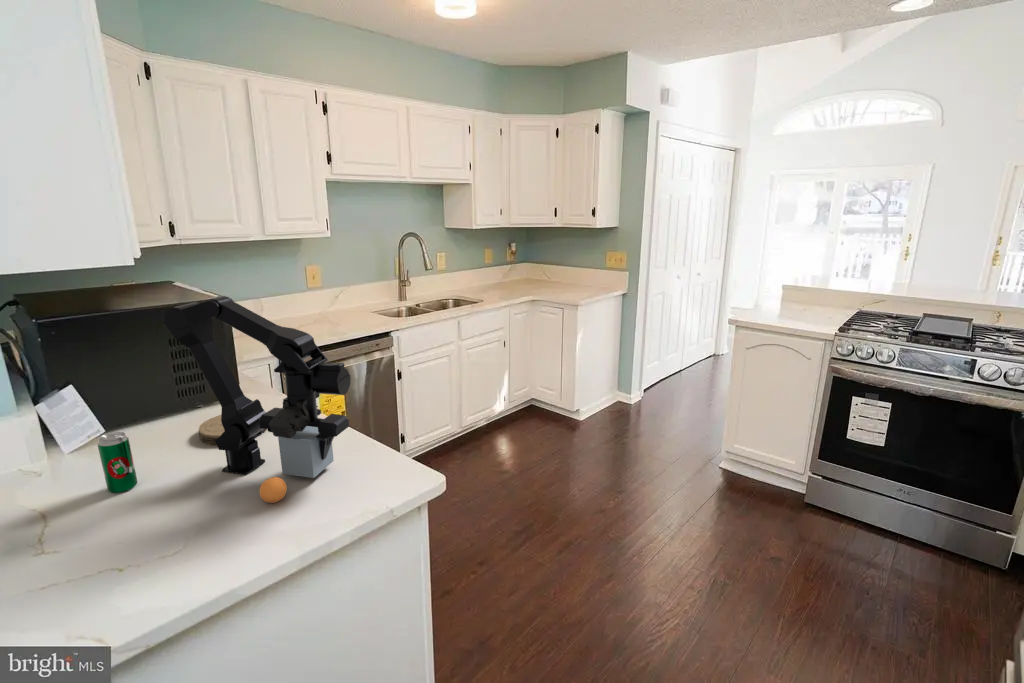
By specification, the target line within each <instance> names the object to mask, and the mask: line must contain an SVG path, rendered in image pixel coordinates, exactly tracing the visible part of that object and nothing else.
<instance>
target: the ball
mask: <svg viewBox="0 0 1024 683" xmlns="http://www.w3.org/2000/svg"><path fill="white" fill-rule="evenodd" d="M287 490H288V485H287V483H286V481H284V479H282V478H280V477H276V476H273V477H270V478H269V477H268V478H267V479H266V480H264V481H263V482H262V483H261V485H260V487H259V496H260V498H261V499H262V500H263V501H264V502H266V503H268V504H269V503H270V504H272V503H273V504H274V503H277V502H280V501H281V500H282V499H284V497H285V496H286V493H287Z"/></svg>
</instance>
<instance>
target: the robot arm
mask: <svg viewBox="0 0 1024 683" xmlns="http://www.w3.org/2000/svg"><path fill="white" fill-rule="evenodd" d="M213 319H216V320H219V321H220V322H222V323H225V324H226V325H228V326H229V327H231V328H233V329H235V330H237V331H239V332H240V333H243V334H245V335H246V336H249V337H250V338H252V339H253V340H255V341H258V342H259V343H261V344H262V345H264V346H265V347H266V348H267V350H268V351H269V353H270V354H271V355H272V356H274V357H275V358H276V359H277V360H278V361H280V363H279V365H277V367H275V368H274V369H273V372H274V373H279V374H284V381H285V392H286V397H285V398H283V399H282V407H273V408H272V409H269V410H268V411H266V410H265V409H264V408H263V406H262V403H261V401H260V400H259V399H258V398H257V399H254V400H252V399H250V398H249V397H247V396H246V395H245V394H244V392H243V391H242V389H241V387H240V385H239V382H238V381H237V379H236V378H235V376H234V374H233V372H232V370H231V368H230V366H229V365H228V363H227V361H226V360H225V357H224V356H223V354H222V352H221V350H220V348H219V346H218V344H217V343H216V341H215V339H214V335H215V334H214V330H215V324H214V322H213ZM162 320H163V324H164V327H165V329H166V330H167V331H168V332H169V333H170V335H171V337H173V338H174V340H176V341H177V342H179V343H180V344H182V345H184V346H185V347H187V348H188V350H189V351H190V353H191V355H192V356H193V358H194V359H195V361H196V364H197V365H198V367H199V369H200V370H201V372H202V374H203V376H204V378H205V380H206V382H207V383H208V384H209V387H210V388H211V390H212V392H213V394H214V396H215V398H216V399H217V401H218V403H219V404H220V407H221V414H220V415H221V422H222V425H223V428H224V430H225V431H224V432H223V433H222V434H221V436H220V437H219V438H218V439H217V440H216V441H215V443H216V445H217V448H218V450H219V451H225V453H224V454H225V458H226V463H227V465H226V466H224V467H222V470H221V471H222V472H225V473H230V474H238V475H244V476H246V475H248V474H249V473H251V472H252V471H254V470H255V469H257V468H258V467H260V466H262V465H263V464H264V463H266V459H265V458H262V457H261V450H260V447H259V442H258V440H256V438H258V437H260V436H261V435H263V434H262V431H263V429H267V432H268V433H272V435H273V436H274V437H277V438H278V437H279V436H280V437H286V438H292V437H293V436H295V434H296V432H297V431H299V432H302V431H303V430H304V429H305V427H306V426H311V427H318V432H319V434H318V435H317V436H315V437H316V438H317V439H318V440H319V442H320V453H321V458H322V460H324V459H325V458H326V456H327V454H328V451H329V448H330V446H331V443H332V444H333V440H334V438H335V437H337V436H339V435H340V434H341V433H343V432H344V431H345V430H347V429H348V428H349V427H350V421H349V420H350V419H349V418H348V416H346V415H345V414H338V413H337V414H336V413H331V414H329V415H327V416H326V417H325V418H320V417H319V416H320V415H321V414H322V410H321V409H319V408H318V407H317V399H318V398H319V397H320V395H323V394H324V395H335V396H346V395H347V393H348V392H349V389H350V386H351V380H352V379H351V378H352V377H351V374H350V372H349V370H348V369H347V368H345V363H344V362H328V358H327V357H326V355H325V354H324V353H323V352H322V351H321V349H320V348H319V347H318V345H317V344H316V342H315V338H314V337H313V336H312V335H311V334H309V333H307V332H305V331H303V330H299V329H296V328H293V327H286V326H280V325H278V324H276V323H274V322H272V321H270V320H269V319H267V318H265V317H263V316H261V315H260V314H258V313H256V312H254V311H252V310H251V309H248V308H247V307H244V306H242V305H241V304H239V303H237V302H236V301H234V299H232V298H231V297H229V296H225V295H224V296H222V295H221V296H218V297H213V298H210V299H207V301H203V302H201V303H200V302H197V301H196V302H195V301H194V302H190V303H186V304H182V305H181V304H180V305H177V306H174V307H170V308H168V309H166V310H165V313H164V316H163V318H162ZM309 358H311V359H309ZM307 359H309V360H307ZM306 360H307V361H306ZM318 417H319V418H318ZM216 445H215V446H216Z"/></svg>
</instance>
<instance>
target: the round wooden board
mask: <svg viewBox="0 0 1024 683" xmlns="http://www.w3.org/2000/svg"><path fill="white" fill-rule="evenodd" d="M224 431H225V430H224V428H223V425H222V422H221V414H219V415H215V416H213V417H210V418H209V419H207V420H205V421H203V422H202V423H201V424H200V425H199V427H198V435H199V440H200V439H201V440H200V441H201V442H202V443H203V442H204V443H203V444H205V443H206V445H208V444H210V445H211V446H216V443H215V441H216V440H217V439H218V438H219V437H220V436H221V434H222V433H223V432H224ZM266 431H268V429H263V431H262V433H263V434H264V433H266ZM210 445H209V446H210Z"/></svg>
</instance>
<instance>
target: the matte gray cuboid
mask: <svg viewBox="0 0 1024 683" xmlns="http://www.w3.org/2000/svg"><path fill="white" fill-rule="evenodd" d="M318 434H319V432H318V427H311V426H306V427H305V429H304V430H303V431H302V432H299V431H297V432H296V434H295V436H293V437H292V438H286V437H280V436H279V437H277V441H278V448H279V454H280V455H279V456H280V463H281V464H280V465H281V470H282V471H281V472H282V474H284V475H288V476H289V475H290V476H298V477H304V478H311V479H315V478H316V477H317V476H318V475H319V474H320V473H322V472H323V471H324V470H325V469H326V468H327V467H329V466H330V465H331V464H332V463H333V462H334V452H333V451H334V450H333V442H332V443H331V446H330V448H329V451H328V454H327V456H326V458H325V459H324V460H322V458H321V453H320V442H319V440H318V439H317V438H316V437H315V436H317V435H318Z"/></svg>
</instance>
